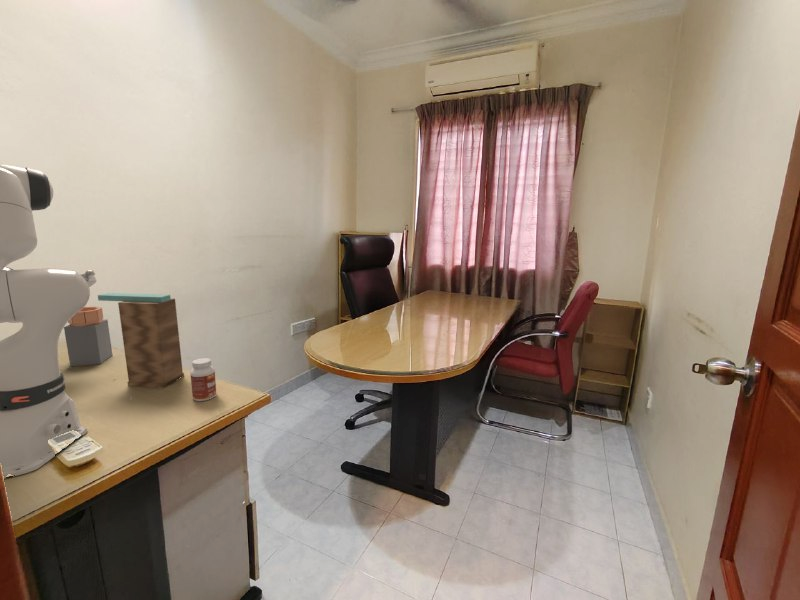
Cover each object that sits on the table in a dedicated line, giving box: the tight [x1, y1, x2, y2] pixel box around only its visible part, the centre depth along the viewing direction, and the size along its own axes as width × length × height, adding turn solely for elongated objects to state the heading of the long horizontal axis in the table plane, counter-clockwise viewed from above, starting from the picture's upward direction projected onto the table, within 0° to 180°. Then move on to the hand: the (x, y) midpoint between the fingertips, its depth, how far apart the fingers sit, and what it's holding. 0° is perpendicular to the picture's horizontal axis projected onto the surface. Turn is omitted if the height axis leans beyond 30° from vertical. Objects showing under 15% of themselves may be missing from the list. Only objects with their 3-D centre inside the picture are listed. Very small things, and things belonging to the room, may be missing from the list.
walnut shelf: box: [117, 298, 185, 389], centre depth 116 cm, size 12×9×26 cm
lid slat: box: [97, 292, 172, 303], centre depth 113 cm, size 20×4×2 cm, turn 86°
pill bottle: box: [189, 357, 217, 402], centre depth 107 cm, size 6×6×11 cm
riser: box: [63, 319, 113, 367], centre depth 133 cm, size 9×9×14 cm
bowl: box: [67, 306, 104, 327], centre depth 131 cm, size 9×9×5 cm
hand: (78, 274), depth 113 cm, fingers open, 8 cm apart
